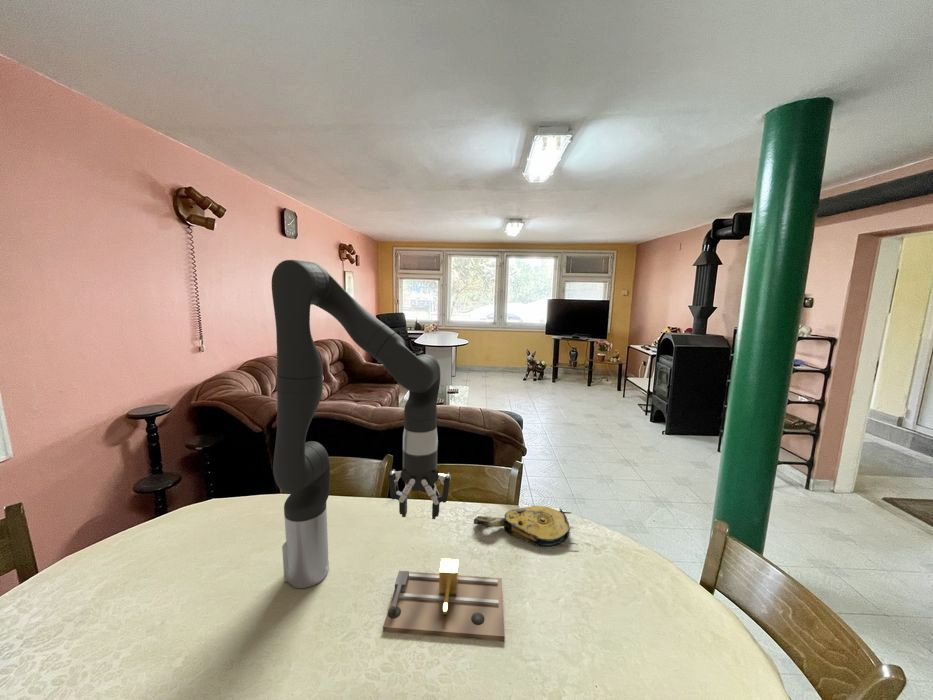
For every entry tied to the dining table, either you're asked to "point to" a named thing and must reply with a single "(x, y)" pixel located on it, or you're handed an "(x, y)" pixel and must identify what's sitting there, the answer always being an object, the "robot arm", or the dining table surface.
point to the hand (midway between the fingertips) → (419, 515)
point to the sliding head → (448, 580)
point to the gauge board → (466, 613)
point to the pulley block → (532, 525)
